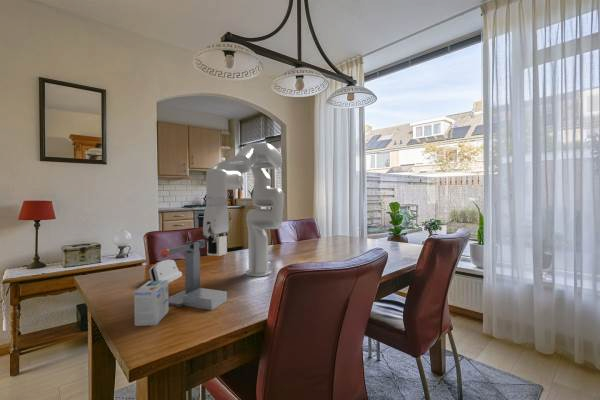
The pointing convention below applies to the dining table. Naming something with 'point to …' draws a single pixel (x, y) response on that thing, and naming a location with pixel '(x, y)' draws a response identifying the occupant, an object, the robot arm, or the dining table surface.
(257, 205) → the robot arm
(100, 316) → the dining table surface
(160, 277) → the white slotted curved casing
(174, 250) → the lever
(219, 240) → the block
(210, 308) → the frame
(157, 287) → the light bulb box
